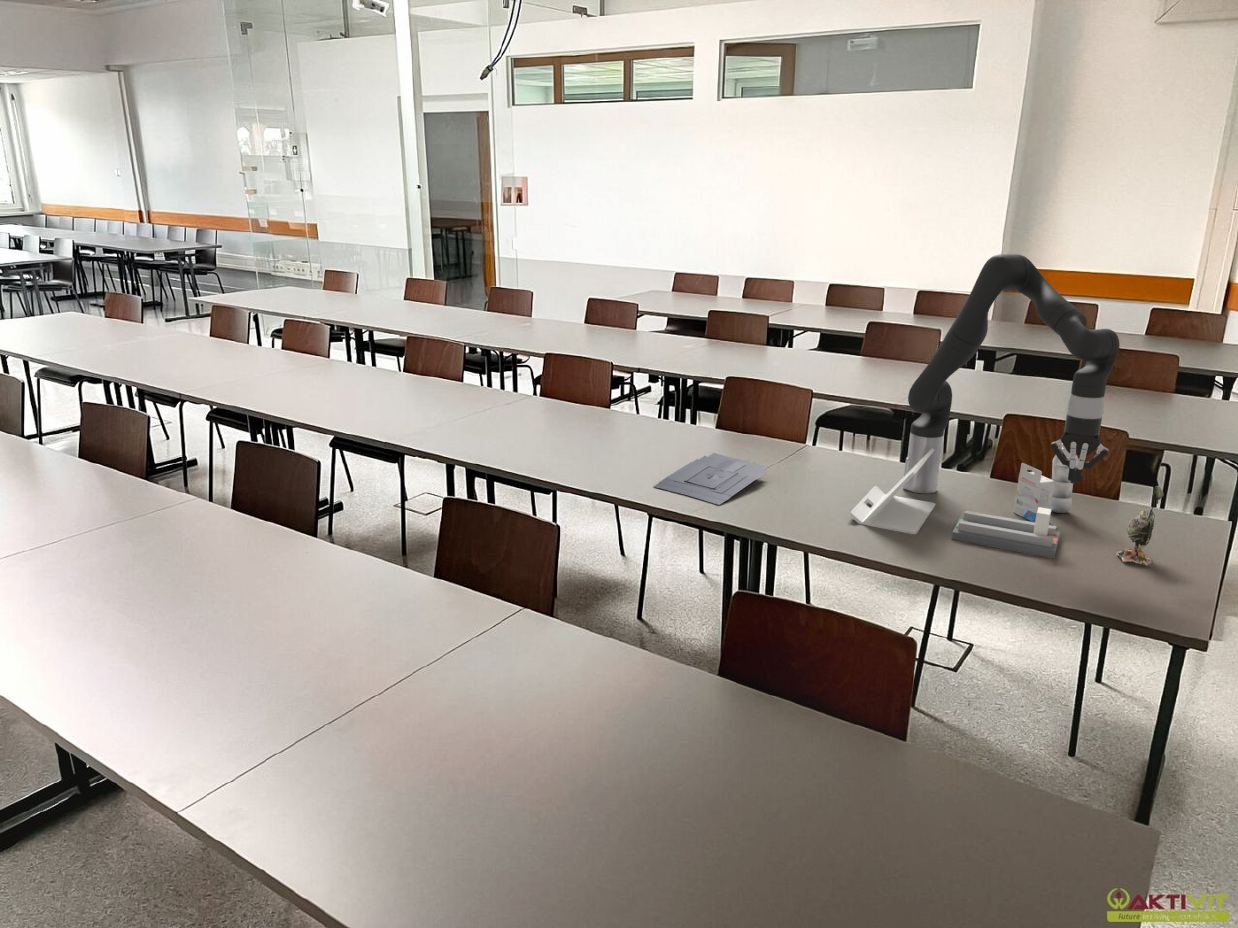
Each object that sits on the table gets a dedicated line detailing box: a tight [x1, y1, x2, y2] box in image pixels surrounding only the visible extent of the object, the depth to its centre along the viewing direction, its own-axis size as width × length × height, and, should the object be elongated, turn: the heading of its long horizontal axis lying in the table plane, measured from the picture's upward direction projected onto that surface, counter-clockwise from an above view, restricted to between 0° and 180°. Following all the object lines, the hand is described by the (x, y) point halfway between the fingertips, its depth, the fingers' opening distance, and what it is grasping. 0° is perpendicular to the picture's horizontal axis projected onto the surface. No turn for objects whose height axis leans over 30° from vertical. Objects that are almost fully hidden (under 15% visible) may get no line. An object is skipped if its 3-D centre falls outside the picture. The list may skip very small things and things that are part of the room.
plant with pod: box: [1116, 485, 1164, 567], centre depth 210 cm, size 8×11×20 cm
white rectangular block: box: [1033, 507, 1052, 536], centre depth 219 cm, size 3×4×7 cm
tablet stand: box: [848, 448, 936, 535], centre depth 239 cm, size 18×25×17 cm
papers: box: [653, 452, 769, 506], centre depth 265 cm, size 24×30×4 cm
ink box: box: [1013, 462, 1055, 523], centre depth 237 cm, size 8×5×15 cm, turn 14°
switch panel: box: [951, 510, 1061, 559], centre depth 224 cm, size 24×14×4 cm, turn 60°
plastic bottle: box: [1050, 443, 1079, 514], centre depth 240 cm, size 6×7×20 cm
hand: (1074, 482), depth 212 cm, fingers closed
